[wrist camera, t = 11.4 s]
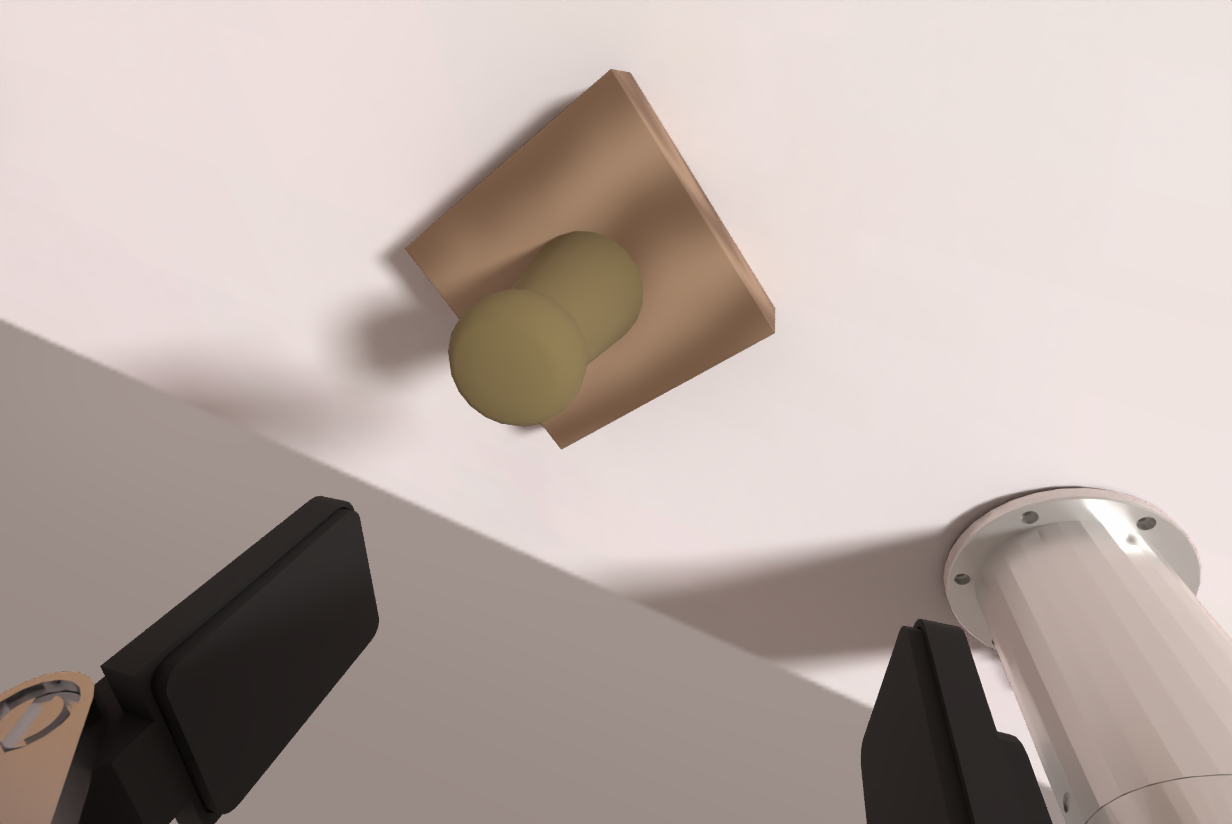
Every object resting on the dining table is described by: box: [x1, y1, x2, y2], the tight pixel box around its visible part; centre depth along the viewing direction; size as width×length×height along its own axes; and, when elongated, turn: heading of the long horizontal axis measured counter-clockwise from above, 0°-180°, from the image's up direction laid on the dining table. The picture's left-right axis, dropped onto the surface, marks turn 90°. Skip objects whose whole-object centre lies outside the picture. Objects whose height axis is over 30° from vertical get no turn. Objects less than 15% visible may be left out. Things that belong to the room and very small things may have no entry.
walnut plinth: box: [405, 69, 775, 449], centre depth 33 cm, size 14×14×4 cm
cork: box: [448, 231, 643, 426], centre depth 26 cm, size 6×6×11 cm
